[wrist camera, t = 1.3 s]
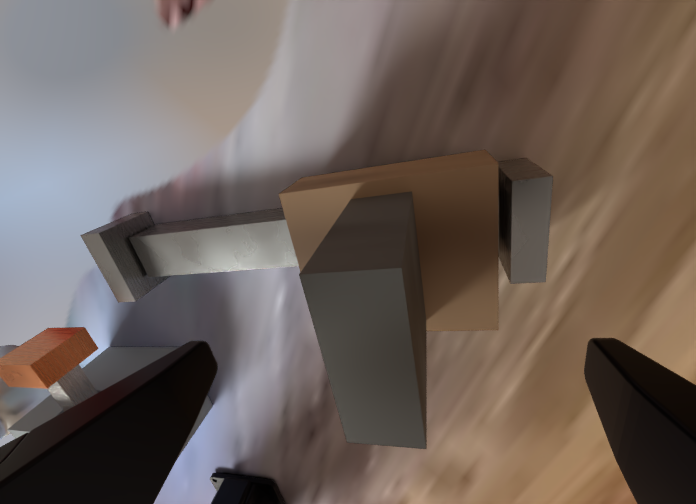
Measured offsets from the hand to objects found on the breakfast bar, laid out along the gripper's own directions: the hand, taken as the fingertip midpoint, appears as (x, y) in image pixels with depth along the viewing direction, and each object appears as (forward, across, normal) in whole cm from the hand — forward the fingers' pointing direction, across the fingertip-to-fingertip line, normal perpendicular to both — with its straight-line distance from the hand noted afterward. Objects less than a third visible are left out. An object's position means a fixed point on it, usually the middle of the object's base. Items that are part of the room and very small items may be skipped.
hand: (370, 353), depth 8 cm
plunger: (+6, +20, +7) cm, 22 cm away
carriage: (+9, 0, 0) cm, 9 cm away
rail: (+9, +5, 0) cm, 10 cm away
